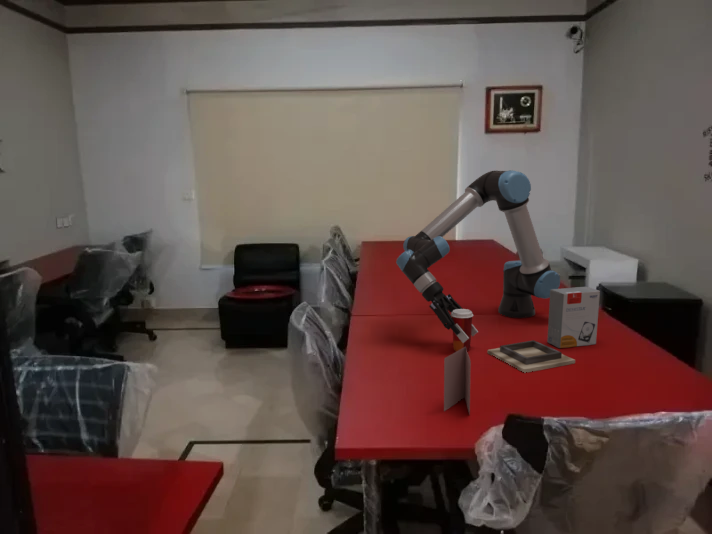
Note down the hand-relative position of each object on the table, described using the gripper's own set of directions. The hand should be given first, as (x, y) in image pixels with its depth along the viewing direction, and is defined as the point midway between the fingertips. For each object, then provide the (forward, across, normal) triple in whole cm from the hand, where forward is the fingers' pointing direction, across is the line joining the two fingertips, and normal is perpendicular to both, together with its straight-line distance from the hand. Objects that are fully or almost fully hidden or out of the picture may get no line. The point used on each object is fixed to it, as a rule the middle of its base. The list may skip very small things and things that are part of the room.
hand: (470, 337), depth 193 cm
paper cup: (+1, 0, -6) cm, 6 cm away
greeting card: (+15, +43, +7) cm, 46 cm away
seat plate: (+18, -3, +10) cm, 21 cm away
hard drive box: (+24, -26, +16) cm, 38 cm away
